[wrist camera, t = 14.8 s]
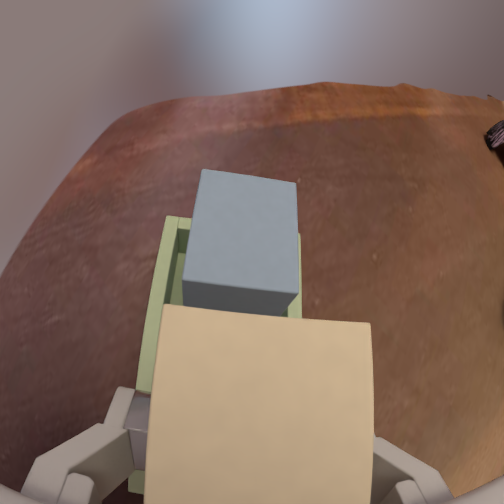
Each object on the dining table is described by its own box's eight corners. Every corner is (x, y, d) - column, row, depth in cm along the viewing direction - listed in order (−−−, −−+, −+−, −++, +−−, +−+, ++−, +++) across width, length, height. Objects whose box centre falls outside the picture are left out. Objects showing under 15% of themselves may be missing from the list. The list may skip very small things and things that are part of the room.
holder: (139, 477, 14) (127, 491, 11) (169, 246, 22) (166, 215, 19) (277, 488, 15) (296, 502, 12) (284, 261, 23) (300, 233, 20)
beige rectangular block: (173, 477, 11) (143, 564, 3) (181, 370, 13) (163, 302, 6) (265, 483, 11) (364, 556, 4) (271, 379, 14) (371, 321, 6)
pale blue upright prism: (185, 341, 18) (181, 279, 10) (195, 265, 21) (201, 168, 13) (253, 348, 19) (299, 293, 11) (256, 273, 21) (296, 182, 13)
